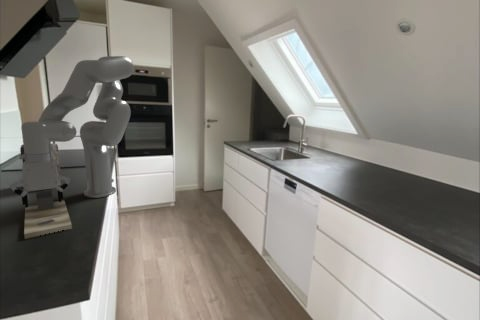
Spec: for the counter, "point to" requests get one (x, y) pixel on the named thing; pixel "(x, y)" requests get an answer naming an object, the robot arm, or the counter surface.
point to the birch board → (46, 220)
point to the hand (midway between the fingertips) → (43, 203)
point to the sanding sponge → (45, 201)
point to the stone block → (54, 156)
